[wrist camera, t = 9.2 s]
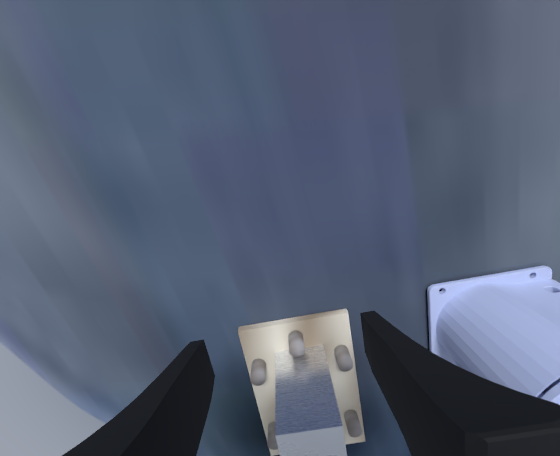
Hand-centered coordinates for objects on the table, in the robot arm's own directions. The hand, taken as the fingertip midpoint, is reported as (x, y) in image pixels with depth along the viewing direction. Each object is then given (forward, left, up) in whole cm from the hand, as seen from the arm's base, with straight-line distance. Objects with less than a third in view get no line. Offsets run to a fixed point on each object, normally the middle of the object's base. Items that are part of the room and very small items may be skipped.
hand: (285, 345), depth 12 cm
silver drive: (0, +12, -9) cm, 15 cm away
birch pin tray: (0, +12, -9) cm, 15 cm away
